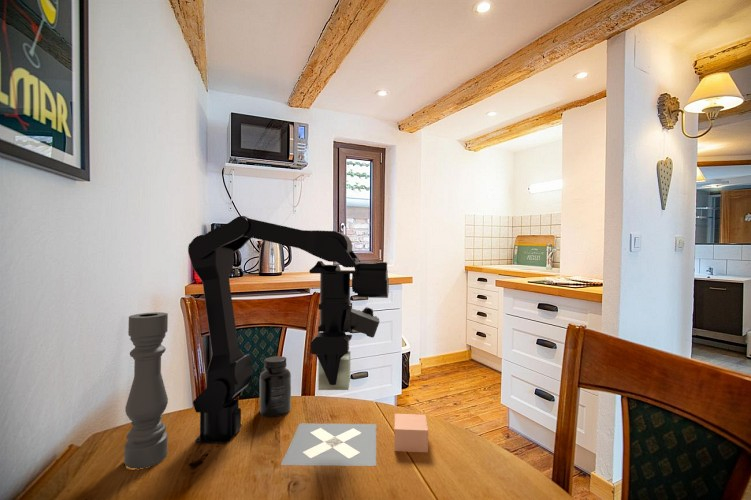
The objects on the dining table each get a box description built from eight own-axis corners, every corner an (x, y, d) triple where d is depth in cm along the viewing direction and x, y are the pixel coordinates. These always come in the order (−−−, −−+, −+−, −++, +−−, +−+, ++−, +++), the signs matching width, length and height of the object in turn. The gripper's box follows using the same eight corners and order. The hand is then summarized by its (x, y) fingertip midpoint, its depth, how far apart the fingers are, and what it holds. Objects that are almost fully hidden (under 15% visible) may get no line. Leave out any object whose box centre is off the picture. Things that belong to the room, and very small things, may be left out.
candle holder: (175, 450, 61) (177, 312, 61) (146, 472, 55) (149, 319, 55) (146, 447, 62) (148, 311, 62) (114, 468, 56) (117, 317, 56)
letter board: (280, 467, 56) (280, 464, 56) (299, 425, 70) (299, 423, 70) (376, 468, 56) (376, 465, 56) (376, 425, 70) (376, 423, 70)
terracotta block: (394, 454, 61) (394, 429, 61) (394, 436, 67) (394, 413, 67) (428, 455, 60) (428, 430, 60) (425, 437, 66) (425, 414, 66)
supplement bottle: (294, 406, 79) (295, 355, 80) (284, 420, 73) (284, 364, 73) (266, 404, 80) (267, 354, 80) (253, 418, 73) (254, 363, 74)
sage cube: (318, 390, 61) (318, 359, 62) (322, 379, 67) (322, 351, 67) (348, 390, 62) (348, 359, 62) (350, 379, 67) (350, 351, 67)
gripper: (378, 304, 55) (377, 399, 55) (376, 292, 74) (375, 363, 74) (310, 304, 55) (309, 399, 55) (325, 291, 74) (325, 363, 74)
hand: (334, 378), depth 64 cm, fingers closed on sage cube, 5 cm apart
